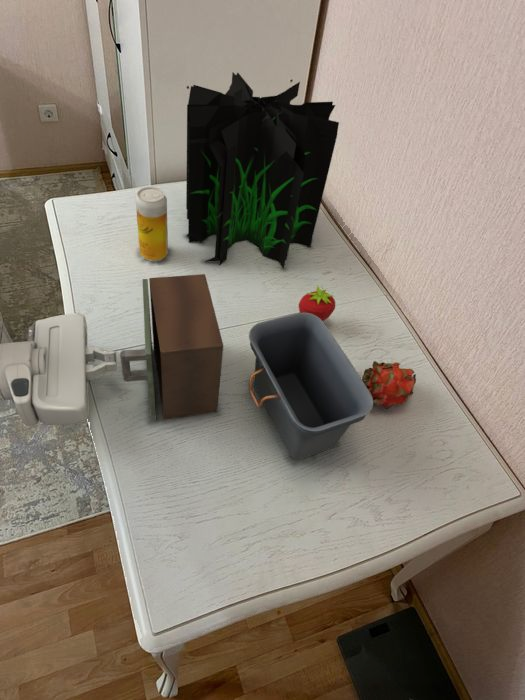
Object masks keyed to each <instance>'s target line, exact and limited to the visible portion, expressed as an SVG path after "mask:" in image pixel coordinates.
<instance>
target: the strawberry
mask: <svg viewBox="0 0 525 700" xmlns="http://www.w3.org/2000/svg"><path fill="white" fill-rule="evenodd" d="M321 287H322V289H321V288H320V286H319V285H317V286H316V290H315V291H311V292H306V294H304V295H303V296H302V297H301V298H300V300H299V302H298V311H299V313H310V314H313V315H315V316H317V317H319V318H320V319H321V320H322V321H323V322H324V321H325V320H328V319H329V318H330V317H331V315H332V314H333V313H334V312H335V309H336V300H335V298H334V295H332V294H330V293H328V292H326V291H327V289H324V287H323V285H322V284H321Z"/></svg>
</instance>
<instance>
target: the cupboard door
mask: <svg viewBox="0 0 525 700" xmlns="http://www.w3.org/2000/svg"><path fill="white" fill-rule="evenodd" d="M142 301H143V324H144V325H143V327H144V348H142V349H141V348H139V349H124V350H121V351H120V352H119V359H120V365H121V372H122V379H123V381H124V382H127V383H128V382H143V381H147V387H148V388H147V389H148V398H149V400H148V401H149V413H150V420H151V422H153V421H157V415H156V414H157V413H156V411H157V410H156V393H155V375H154V357H153V354H154V352H153V336H152V321H151V306H150V291H149V279H148V278H143V279H142ZM141 361H145V363H146V364H145V366H146V369H136V370H132V369H131V362H141Z"/></svg>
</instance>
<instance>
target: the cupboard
mask: <svg viewBox="0 0 525 700" xmlns="http://www.w3.org/2000/svg"><path fill="white" fill-rule="evenodd" d="M148 284H149V300H150V316H151V331H152V347H153V354H154V360H155V368H156V374H157V381H158V388H159V395H160V403H161V408H162V417H163V420H169V419H170V420H171V419H177V418H185V417H192V416H200V415H207V414H213V413H218V405H219V396H220V395H219V394H220V387H221V386H220V385H221V375H222V364H223V356H224V355H223V354H224V343H223V338H222V335H221V331H220V327H219V322H218V319H217V315H216V311H215V307H214V304H213V300H212V295H211V292H210V288H209V284H208V281H207V275H206V274H204V273H202V274H201V273H200V274H187V275H174V276H173V275H172V276H171V275H170V276H157V277H149V279H148Z"/></svg>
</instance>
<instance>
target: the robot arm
mask: <svg viewBox="0 0 525 700" xmlns="http://www.w3.org/2000/svg"><path fill="white" fill-rule="evenodd" d="M3 329H4V318H3V315H2V312H1V311H0V401H10V400H11V401H12V403H13V406H14V407H15V408H16V409H15V410H16V411H17V413H18V416H19V417H20V420H21V422H22V423H23V424H24V426H26V427H29V426H35V425H38V424H39V422H40V423H41V424H43V425H44V426H45V425H46V426H65V425H66V426H67V425H76V424H77V425H78V424H81V423H83V422H84V421H85V420H87V419H88V418H89V415H90V414H89V412H90V411H89V381H92V380H97V379H99V378H100V377H102V376H104V375H105V374H107V373H110V372H117V371H118V357H117V351H116V350H106V351H105V350H103V349H100V348H97V347H95V346H88V325H87V320H86V317H85V315H84V314H82V313H78V312H73V313H67V314H60V315H55V316H50V317H47V318H44V319H38V320H35V322H33V324H31V325H30V326H29V327H28V329H27V334H28V335H27V340H26V341H15V342H13V341H12V342H2V338H3V332H4V331H3ZM96 360H98V361H102V362H101V363H100V364H98V365H96V366H94V364H89V363H93V362H95V361H96Z"/></svg>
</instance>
